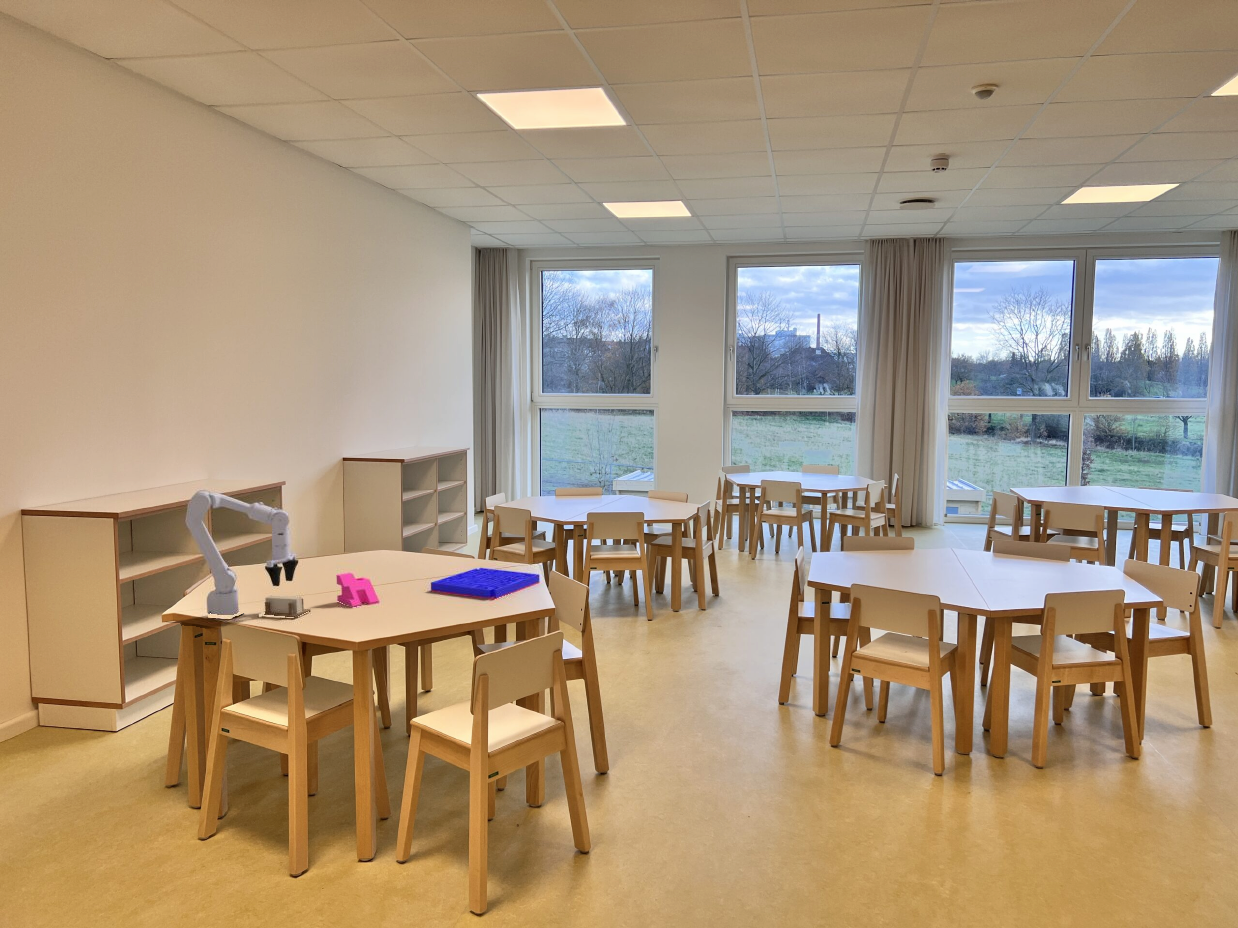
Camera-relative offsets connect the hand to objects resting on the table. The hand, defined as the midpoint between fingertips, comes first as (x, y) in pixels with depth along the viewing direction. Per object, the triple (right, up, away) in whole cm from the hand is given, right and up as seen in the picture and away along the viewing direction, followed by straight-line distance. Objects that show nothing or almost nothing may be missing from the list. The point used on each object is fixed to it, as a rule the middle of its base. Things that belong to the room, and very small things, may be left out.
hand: (282, 583), depth 289 cm
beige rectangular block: (+2, -9, -4) cm, 10 cm away
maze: (+66, -7, +35) cm, 75 cm away
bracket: (+23, -9, +12) cm, 27 cm away
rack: (+2, -10, -4) cm, 11 cm away
